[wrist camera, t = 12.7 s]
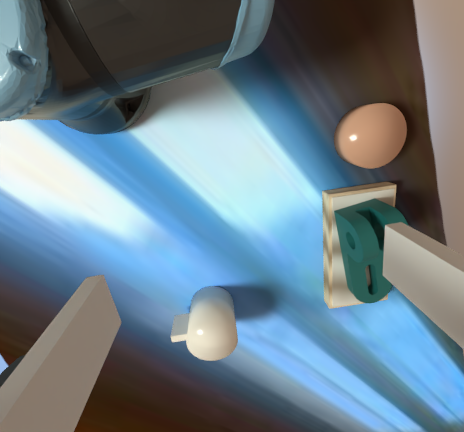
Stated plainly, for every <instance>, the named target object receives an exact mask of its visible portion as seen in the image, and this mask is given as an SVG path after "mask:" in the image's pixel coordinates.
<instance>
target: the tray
mask: <svg viewBox="0 0 464 432" xmlns="http://www.w3.org/2000/svg"><path fill="white" fill-rule="evenodd" d="M322 196H323V256H324V301H325V302H326V304H327V305H328V307H329V308H337V307H343V306H350V305H356V304H362V303H363V302H360V301H359V300H357V299H356V297H355V296H354V295H353V294H352V293H351V291H350V290H349V289H348V286H347V281H346V276H345V270H344V264H343V259H342V253H341V248H340V242H339V236H338V231H337V225H336V220H335V214H334V211H335V210H338V209H342V208H345V207H348V206H351V205H355V204H358V203H361V202H364V201H368V200H371V199H374V198H375V199H377V200H380V201H382V202H384V203H386V204H388V205H391V206H393V207H395V198H396V184H393V183H390V182H380V183H373V184H366V185H359V186H353V187H346V188H339V189H332V190H325V191H322ZM365 271H366V278H367V285H368V286H369V285H370V284H371V280H370V273H369V266H367V267H366V268H365ZM387 299H388V294H387V295H386V296H385V297H384V298H383V299H381V300H387ZM381 300H379V301H381Z"/></svg>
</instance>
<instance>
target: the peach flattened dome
mask: <svg viewBox="0 0 464 432" xmlns="http://www.w3.org/2000/svg"><path fill="white" fill-rule="evenodd" d="M406 134H407V126H406V121H405V118H404V116H403V114H402V113H401V112H400V110H399V109H397V108H396V107H395V106H393V105H390V104H386V103H377V104H369V105H361V106H358V107H355V108H353V109H351V110H350V111H348V112H347V113H346V114H345V115H344V116H343V117H342V118H341V120H340V121H339V123H338V125H337V127H336V130H335V134H334V145H335V149H336V151H337V153H338V155H339V156H340V157H341V158H342V159H343V160H344V161H345V162H347V163H350V164H353V165H357V166H360V167H364V168H378V167H381V166H383V165H385V164H387V163H389V162H390V161H391V160H393V159H394V158H395V157H396V156H397V154H398V153H399V152H400V150H401V149H402V147H403V145H404V142H405V139H406Z"/></svg>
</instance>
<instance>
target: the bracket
mask: <svg viewBox="0 0 464 432" xmlns="http://www.w3.org/2000/svg"><path fill="white" fill-rule="evenodd" d="M334 214H335V220H336V225H337V231H338V236H339V242H340V248H341V253H342V259H343V264H344V270H345V276H346V281H347V286H348V289H349V290H350V291H351V293H352V294H353V295H354V296H355V297H356V299H357V300H359V301H360V302H363V303H374V302H377V301H379V300H381V299H383V298H384V297H385V296H386V295H387V294H388V293H389V291H390V289H391V286H392V283H390V282H389V281H388V280H387V279H386V278H385V277H384V276H383V256H384V237H385V225H387V224H393V223H399V222H402V223H404V224H406V225H408V223H407V221H406V220H405V218H404V216H403V215H402V214H401V213H400V211H399V210H397V209H396V208H395V207H393V206H391V205H388V204H386V203H384V202H382V201H380V200H377V199H375V198H374V199H371V200H368V201H364V202H361V203H358V204H355V205H351V206H348V207H345V208H342V209H338V210H335V211H334ZM367 266H369V273H370V280H371V284H370V285H369V286H368V285H367V278H366V271H365V268H366V267H367Z"/></svg>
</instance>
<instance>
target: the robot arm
mask: <svg viewBox="0 0 464 432" xmlns="http://www.w3.org/2000/svg"><path fill="white" fill-rule="evenodd" d="M274 2H275V0H0V121H4V120H5V121H12V120H16V119H33V120H58V121H60V122H61V123H63V124H65V125H66V126H68V127H70V128H72V129H75V130H78V131H81V132H84V133H89V134H109V133H115V132H118V131H121V130H123V129H126V128H127V127H129V126H130V125H132V124H133V123H134V122H135V121H136V120H137V119H138V118H139V117H140V116H141V114H142V113H143V111H144V110H145V108H146V106H147V103H148V100H149V96H150V91H151V86H154V85H157V84H160V83H164V82H167V81H170V80H174V79H177V78H180V77H183V76H187V75H190V74H193V73H197V72H200V71H203V70H207V69H210V68H211V69H219V68H220V67H222V66H224V65H225V64H226V63H228V62H231V61H233V60H236V59H239V58H242V57H244V56H247V55H249V54H251V53H252V52H253V51H254V50H255V49H257V47H258V46H259V45H260V44H261V43H262V41H263V39H264V37H265V35H266V33H267V30H268V28H269V24H270V21H271V17H272V13H273V8H274ZM383 276H384V277H385V278H386V279H387V280H388V281H389V282H390V283H392V284H393V285H394V286H395V287H396V288H397V289H398V290H399V291H400V292H401V293H403V294H404V295H405V296H406V297H407V298H408V299H409V300H410V301H411V302H412V303H414V304H415V305H416V306H417V307H418V308H419V309H420V310H421V311H422V312H423V313H424V314H426V315H427V316H428V317H429V318H430V319H431V320H432V321H433V322H434V323H435V324H437V325H438V326H439V327H440V328H441V329H442V330H443V331H444V332H445V333H446V334H448V335H449V336H450V337H451V338H452V339H453V340H454V341H455V342H456V343H457V344H459V345H460V346H461V347H462V348H463V349H464V256H463V255H461V254H459V253H457V252H456V251H454V250H452V249H450V248H448V247H446V246H445V245H443V244H441V243H439V242H437V241H435V240H433V239H432V238H430V237H428V236H426V235H424V234H422V233H421V232H419V231H417V230H415V229H413V228H411V227H409V226H408V225H406V224H404V223H402V222H399V223H393V224H387V225H385V237H384V256H383ZM120 324H121V320H120V317H119V314H118V312H117V309H116V307H115V304H114V301H113V299H112V296H111V294H110V291H109V288H108V286H107V283H106V281H105V278H104V275H98V276H93V277H87V278H86V279H85V280H84V281H83V283H82V284H81V285H80V287H79V288H78V289H77V290H76V292H75V293H74V294H73V295H72V297H71V298H70V299H69V301H68V302H67V303H66V304H65V306H64V307H63V308H62V310H61V311H60V312H59V313H58V315H57V316H56V317H55V318H54V320H53V321H52V322H51V324H50V325H49V326H48V327H47V329H46V330H45V331H44V333H43V334H42V335H41V336H40V338H39V339H38V340H37V342H36V343H35V344H34V345H33V347H32V348H31V349H30V350H29V352H28V353H27V354H26V355H24V356H20V357H19V358H18V359H17V360H16V361H14V362H13V363H12V364H11V365H10V366H9V367H7V368H6V369H5V370H4V371H3V372H2V373H1V375H0V432H74V430H75V427H76V425H77V423H78V420H79V418H80V416H81V414H82V411H83V409H84V407H85V404H86V402H87V400H88V398H89V395H90V393H91V391H92V388H93V386H94V384H95V382H96V379H97V377H98V375H99V372H100V370H101V368H102V366H103V363H104V361H105V359H106V356H107V354H108V352H109V350H110V347H111V345H112V343H113V340H114V338H115V336H116V334H117V331H118V329H119V327H120Z"/></svg>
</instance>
